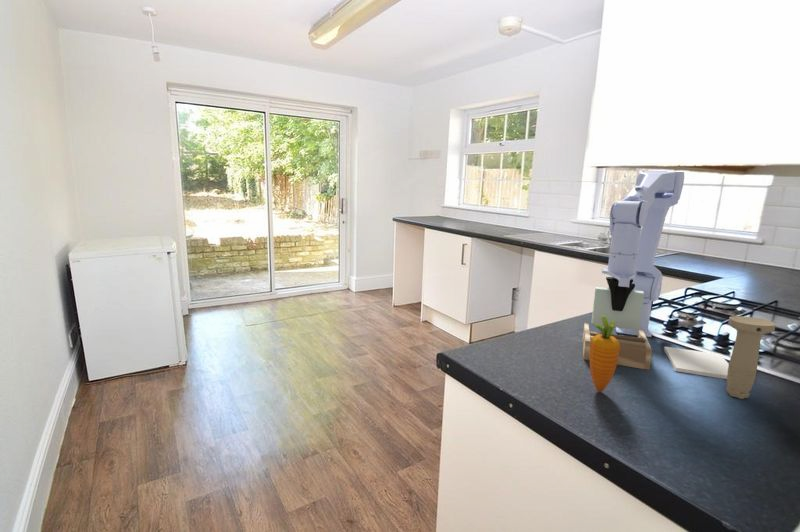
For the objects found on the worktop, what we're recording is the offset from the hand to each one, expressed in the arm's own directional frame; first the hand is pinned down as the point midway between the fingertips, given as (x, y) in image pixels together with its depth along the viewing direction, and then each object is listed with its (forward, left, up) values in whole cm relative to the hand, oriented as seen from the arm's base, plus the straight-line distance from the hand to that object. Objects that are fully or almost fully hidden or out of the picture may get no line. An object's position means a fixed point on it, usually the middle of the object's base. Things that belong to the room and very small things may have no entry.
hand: (616, 308), depth 94 cm
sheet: (0, 0, -4) cm, 4 cm away
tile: (+2, +17, -10) cm, 20 cm away
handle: (+15, +20, -10) cm, 27 cm away
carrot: (+24, -4, -10) cm, 26 cm away
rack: (+3, 0, -10) cm, 10 cm away
